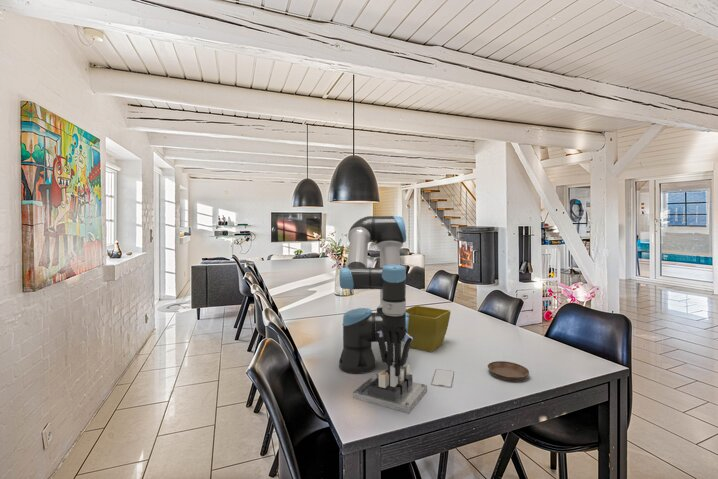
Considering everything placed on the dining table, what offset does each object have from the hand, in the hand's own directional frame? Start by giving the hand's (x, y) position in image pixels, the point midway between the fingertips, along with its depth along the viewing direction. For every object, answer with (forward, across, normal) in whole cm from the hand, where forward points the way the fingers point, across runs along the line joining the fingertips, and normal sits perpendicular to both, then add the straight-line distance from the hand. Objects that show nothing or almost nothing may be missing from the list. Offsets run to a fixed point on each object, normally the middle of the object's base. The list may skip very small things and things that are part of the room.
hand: (394, 384), depth 117 cm
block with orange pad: (+1, -4, 0) cm, 4 cm away
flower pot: (+7, -9, +58) cm, 59 cm away
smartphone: (+7, +9, +27) cm, 29 cm away
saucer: (+7, +30, +41) cm, 52 cm away
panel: (+6, -3, +5) cm, 9 cm away
